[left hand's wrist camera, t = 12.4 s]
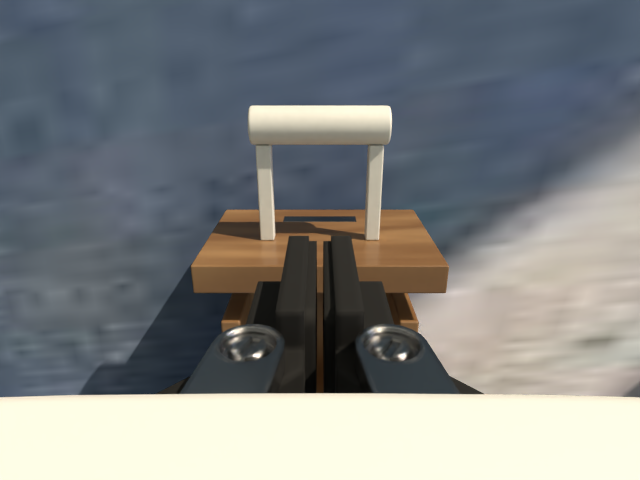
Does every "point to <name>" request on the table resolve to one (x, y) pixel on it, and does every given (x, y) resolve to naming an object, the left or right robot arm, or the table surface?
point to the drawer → (319, 222)
